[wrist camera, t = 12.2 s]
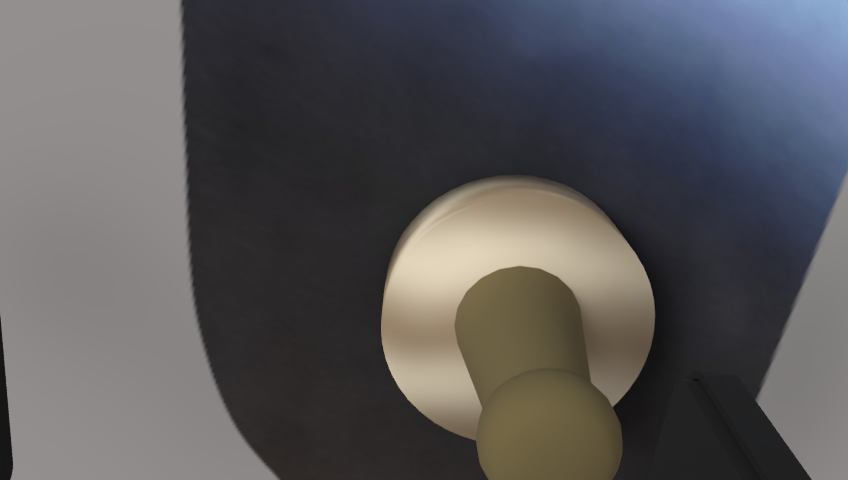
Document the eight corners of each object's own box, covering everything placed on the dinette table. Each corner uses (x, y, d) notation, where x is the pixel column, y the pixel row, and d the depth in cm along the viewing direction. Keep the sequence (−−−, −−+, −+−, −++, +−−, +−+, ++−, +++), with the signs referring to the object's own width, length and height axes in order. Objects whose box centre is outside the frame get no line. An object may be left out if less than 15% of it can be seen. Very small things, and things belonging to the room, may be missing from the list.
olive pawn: (478, 250, 35) (501, 372, 25) (600, 286, 35) (674, 420, 25) (438, 362, 37) (444, 518, 27) (555, 393, 37) (605, 559, 27)
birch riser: (403, 157, 37) (401, 179, 34) (660, 194, 38) (686, 219, 34) (370, 385, 42) (365, 427, 38) (601, 415, 43) (619, 459, 39)
